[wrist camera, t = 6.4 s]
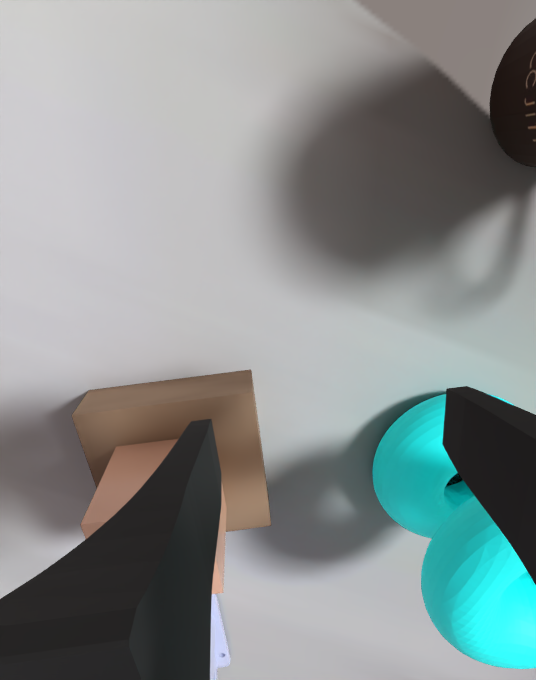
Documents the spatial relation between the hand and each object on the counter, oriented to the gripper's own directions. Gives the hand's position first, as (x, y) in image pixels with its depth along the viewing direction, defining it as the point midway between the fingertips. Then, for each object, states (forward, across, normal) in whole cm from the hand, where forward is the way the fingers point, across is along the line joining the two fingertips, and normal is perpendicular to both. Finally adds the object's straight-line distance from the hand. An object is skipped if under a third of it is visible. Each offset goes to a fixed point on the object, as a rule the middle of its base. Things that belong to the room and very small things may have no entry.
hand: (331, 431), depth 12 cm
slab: (+10, +7, +7) cm, 14 cm away
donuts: (+10, -9, +10) cm, 17 cm away
